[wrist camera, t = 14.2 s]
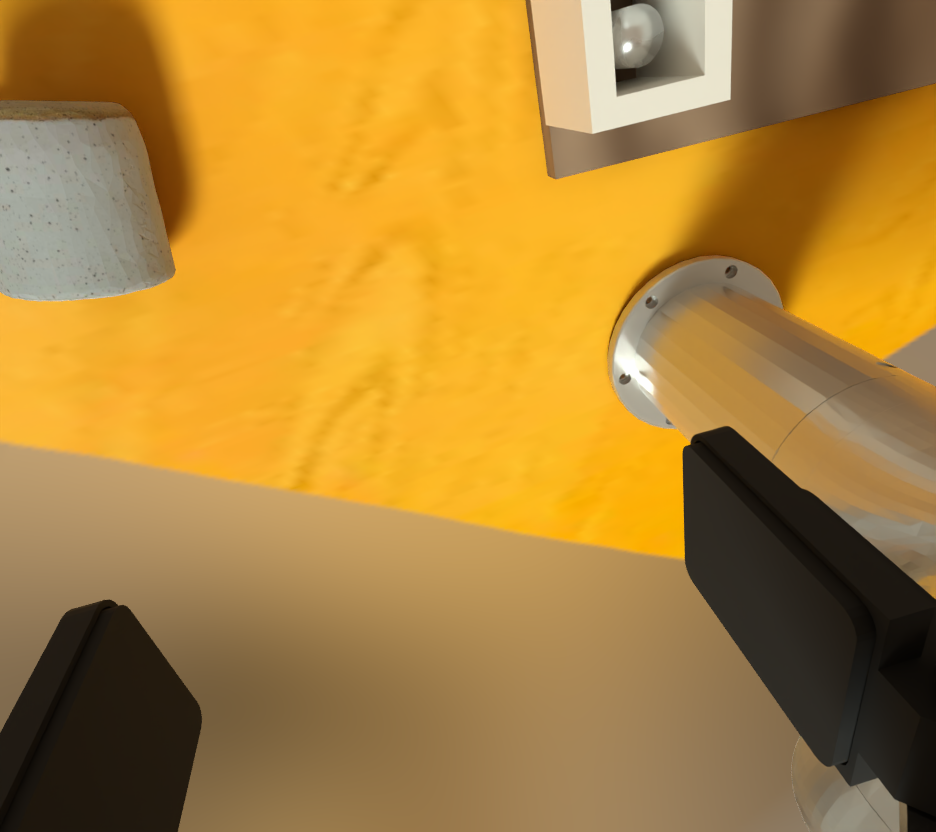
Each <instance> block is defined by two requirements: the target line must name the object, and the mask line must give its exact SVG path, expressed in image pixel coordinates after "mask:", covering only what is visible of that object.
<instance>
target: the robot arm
mask: <svg viewBox="0 0 936 832" xmlns="http://www.w3.org/2000/svg"><path fill="white" fill-rule="evenodd" d="M647 298H649V299H648V300H647ZM646 300H647V301H646ZM608 374H609V378H610V381H611V385H612V388H613V390H614V392H615V393H616V395H617V397H618V399H619V400H620V401H621V403H622V404H623V405H624V406H625V407H626V408H627V410H628V411H629V412H631V413H632V414H633V415H634V416H635V417H637V418H638V419H639V420H641V421H643V422H645V423H647V424H649V425H653V426H657V427H660V428H667V429H678V430H679V431H680V432H681V433H682V434H683V435H684V436H685V437H686V438H687V439H688V440H689V441H690V442H691V445H688V446H685V447H684V449H683V494H684V539H685V564H686V568H687V571H688V573H689V576H690V578H691V580H692V581H693V583H694V584H695V586H696V587H697V589H698V590H699V592H700V593H701V594H702V596H703V597H704V599H705V600H706V602H707V603H708V604H709V606H710V607H711V609H712V610H713V611H714V613H715V614H716V616H717V617H718V618H719V620H720V621H721V623H722V624H723V626H724V627H725V629H726V630H727V631H728V633H729V634H730V636H731V637H732V639H733V640H734V641H735V643H736V644H737V645H738V647H739V648H740V650H741V651H742V653H743V654H744V655H745V657H746V659H747V660H748V661H749V663H750V664H751V666H752V667H753V668H754V670H755V671H756V673H757V674H758V676H759V677H760V678H761V680H762V681H763V683H764V684H765V685H766V687H767V688H768V690H769V691H770V693H771V694H772V695H773V697H774V698H775V700H776V701H777V703H778V704H779V705H780V707H781V708H782V710H783V711H784V712H785V714H786V715H787V717H788V718H789V720H790V721H791V723H792V724H793V725H794V727H795V728H796V730H797V731H798V732H799V734H800V737H799V740H798V742H797V744H796V747H795V750H794V754H793V759H792V768H791V774H792V784H793V791H794V795H795V799H796V802H797V804H798V807H799V810H800V812H801V815H802V817H803V820H804V822H805V824H806V826H807V828H808V830H809V831H810V832H936V386H934V385H932V384H930V383H927V382H925V381H923V380H921V379H919V378H917V377H915V376H913V375H911V374H909V373H907V372H905V371H904V370H902V369H900V368H898V367H896V366H894V365H891V364H890V363H888V362H886V361H884V360H882V359H880V358H878V357H876V356H874V355H872V354H870V353H868V352H866V351H864V350H862V349H860V348H858V347H856V346H854V345H852V344H850V343H848V342H846V341H844V340H842V339H840V338H838V337H836V336H834V335H832V334H831V333H829V332H827V331H825V330H823V329H821V328H819V327H817V326H815V325H813V324H811V323H809V322H807V321H805V320H803V319H801V318H799V317H797V316H795V315H793V314H791V313H789V312H787V311H785V310H783V304H782V301H781V298H780V295H779V292H778V290H777V289H776V287H775V285H774V284H773V282H772V281H771V279H770V278H769V277H768V276H766V275H765V274H764V273H763V272H762V271H761V270H760V269H758V268H756V267H754V266H752V265H751V264H749V263H747V262H744V261H741V260H739V259H736V258H733V257H728V256H720V255H711V256H699V257H696V258H692V259H689V260H685V261H682V262H680V263H678V264H676V265H673V266H671V267H669V268H667V269H665V270H664V271H662V272H661V273H659V274H658V275H657V276H655V277H654V278H652V279H651V280H649V281H648V282H647V283H646V284H645V285H644V286H643V287H642V288H641V289H640V290H639V291H638V292H637V293H636V294H635V295H634V297H633V298H632V299H631V301H630V302H629V303H628V305H627V306H626V307H625V309H624V310H623V312H622V314H621V316H620V318H619V319H618V321H617V323H616V325H615V328H614V331H613V334H612V337H611V340H610V344H609V351H608ZM201 723H202V716H201V710H200V707H199V705H198V703H197V701H196V700H195V698H194V697H193V696H192V694H191V693H190V692H189V690H188V689H187V688H186V686H185V685H184V683H183V682H182V681H181V679H180V678H179V676H178V675H177V674H176V672H175V671H174V669H173V668H172V667H171V665H170V664H169V663H168V661H167V660H166V658H165V657H164V656H163V654H162V653H161V652H160V650H159V649H158V648H157V646H156V645H155V643H154V642H153V641H152V639H151V638H150V636H149V635H148V634H147V632H146V631H145V630H144V628H143V627H142V625H141V624H140V623H139V621H138V620H137V619H136V617H135V616H134V614H133V613H132V612H131V610H130V609H129V608H128V607H127V606H124V605H120V606H118V605H117V604H116V603H115V602H114V601H112V600H103V601H100V602H96V603H93V604H89V605H85V606H82V607H78V608H75V609H71V610H69V611H68V612H66V613H65V615H64V616H63V617H62V619H61V620H60V622H59V624H58V626H57V628H56V630H55V632H54V634H53V635H52V637H51V639H50V641H49V643H48V645H47V647H46V649H45V650H44V652H43V654H42V656H41V658H40V660H39V661H38V663H37V665H36V667H35V669H34V671H33V673H32V675H31V677H30V678H29V680H28V682H27V684H26V686H25V688H24V690H23V691H22V693H21V695H20V697H19V699H18V701H17V703H16V705H15V707H14V708H13V710H12V712H11V714H10V716H9V718H8V719H7V721H6V723H5V725H4V727H3V729H2V731H1V733H0V832H178V827H179V823H180V819H181V815H182V810H183V805H184V801H185V797H186V792H187V788H188V784H189V779H190V775H191V770H192V766H193V761H194V757H195V752H196V748H197V744H198V739H199V735H200V730H201Z"/></svg>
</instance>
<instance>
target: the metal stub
mask: <svg viewBox="0 0 936 832" xmlns="http://www.w3.org/2000/svg"><path fill="white" fill-rule="evenodd" d="M611 18H612V33H613V49H614V64H615V69H627V68H639V67H642V66H645V65H646V64H648V63H649V62H651V61H652V60H653V59H654V58H655V56H656V55H657V53H658V52H659V50H660V48H661V45H662V42H663V37H664V26H663V21H662V18H661V16H660V14H659V13H658V11H657V10H656V9H655V8H653V7H652V6H650V5H648V4H635V5H632V6H628V7H625V8H621V9H618V10H614V11H611Z"/></svg>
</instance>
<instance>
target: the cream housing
mask: <svg viewBox="0 0 936 832" xmlns="http://www.w3.org/2000/svg"><path fill="white" fill-rule="evenodd" d="M632 2H633V5H635V4H648V5H650V6H652V7H653V8H655V9H656V10H657V11H658V13H659V14H660V16H661V18H662V21H663V26H664V37H663V42H662V45H661V48H660V50H659V52H658V53H657V55H656V56H655V58H654V59H653V60H652V61H651V62H649V63H648V64H646V65H645V66H642V67H639V68H636V78H633V79H629V80H624V81H620V82H616V79H615V64H614V49H613V33H612V18H611V3H610V0H531V8H532V16H533V24H534V32H535V41H536V49H537V57H538V65H539V73H540V81H541V89H542V97H543V106H544V114H545V122H546V125H548V126H553V127H558V128H564V129H569V130H574V131H580V132H585V133H591V134H594V133H598V132H602V131H606V130H610V129H614V128H618V127H622V126H626V125H630V124H634V123H638V122H642V121H646V120H650V119H654V118H658V117H663V116H667V115H671V114H675V113H679V112H683V111H687V110H691V109H695V108H699V107H703V106H707V105H711V104H715V103H719V102H723V101H727V100H730V96H731V49H732V2H733V0H632Z"/></svg>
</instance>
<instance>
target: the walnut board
mask: <svg viewBox="0 0 936 832" xmlns="http://www.w3.org/2000/svg"><path fill="white" fill-rule="evenodd" d="M610 3H611V11H614V10H618V9H621V8H625V7H628V6H632V5H633V2H632V0H610ZM526 7H527V15H528V23H529V31H530V39H531V47H532V54H533V62H534V70H535V78H536V86H537V94H538V102H539V110H540V117H541V125H542V133H543V141H544V149H545V157H546V165H547V173H548V176H549V177H552V178H554V179H559V178H563V177H567V176H571V175H575V174H579V173H582V172H586V171H590V170H594V169H598V168H602V167H606V166H610V165H614V164H618V163H622V162H626V161H630V160H634V159H638V158H642V157H646V156H650V155H654V154H658V153H662V152H666V151H670V150H673V149H677V148H681V147H685V146H689V145H693V144H697V143H701V142H705V141H709V140H713V139H717V138H721V137H725V136H729V135H733V134H737V133H741V132H745V131H749V130H753V129H757V128H761V127H764V126H768V125H772V124H776V123H780V122H784V121H788V120H792V119H796V118H800V117H804V116H808V115H812V114H816V113H820V112H824V111H828V110H832V109H836V108H840V107H844V106H848V105H852V104H855V103H859V102H863V101H867V100H871V99H875V98H879V97H883V96H887V95H891V94H895V93H899V92H903V91H907V90H911V89H915V88H919V87H923V86H927V85H931V84H935V83H936V0H733V2H732V49H731V96H730V100H727V101H723V102H719V103H715V104H711V105H707V106H703V107H699V108H695V109H691V110H687V111H683V112H679V113H675V114H671V115H667V116H663V117H658V118H654V119H650V120H646V121H642V122H638V123H634V124H630V125H626V126H622V127H618V128H614V129H610V130H606V131H602V132H598V133H594V134H591V133H585V132H580V131H574V130H569V129H564V128H558V127H553V126H548V125H546V122H545V114H544V106H543V97H542V89H541V81H540V73H539V65H538V57H537V49H536V41H535V32H534V24H533V16H532V8H531V0H526ZM633 78H636V68H627V69H615V79H616V82H620V81H624V80H629V79H633Z"/></svg>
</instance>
